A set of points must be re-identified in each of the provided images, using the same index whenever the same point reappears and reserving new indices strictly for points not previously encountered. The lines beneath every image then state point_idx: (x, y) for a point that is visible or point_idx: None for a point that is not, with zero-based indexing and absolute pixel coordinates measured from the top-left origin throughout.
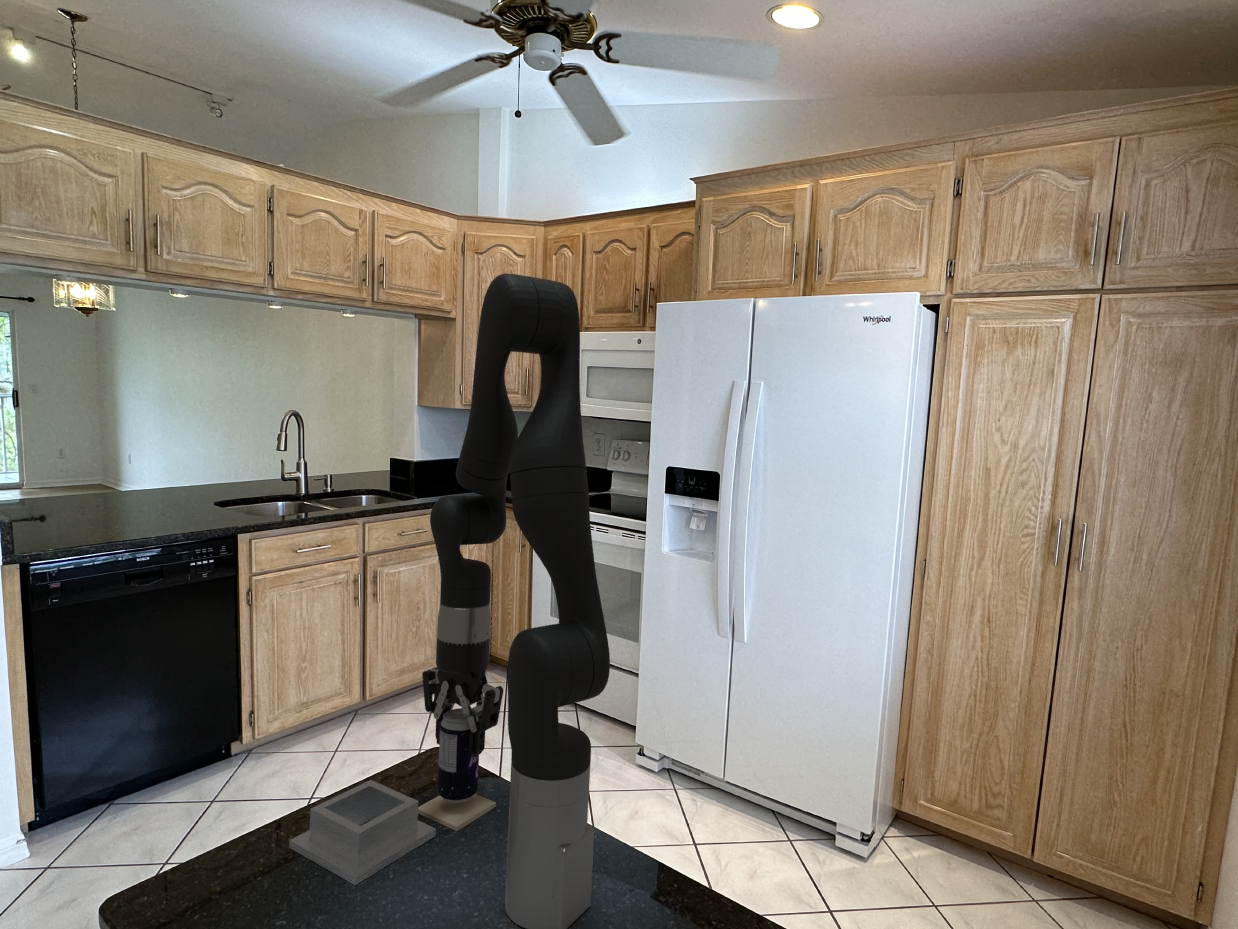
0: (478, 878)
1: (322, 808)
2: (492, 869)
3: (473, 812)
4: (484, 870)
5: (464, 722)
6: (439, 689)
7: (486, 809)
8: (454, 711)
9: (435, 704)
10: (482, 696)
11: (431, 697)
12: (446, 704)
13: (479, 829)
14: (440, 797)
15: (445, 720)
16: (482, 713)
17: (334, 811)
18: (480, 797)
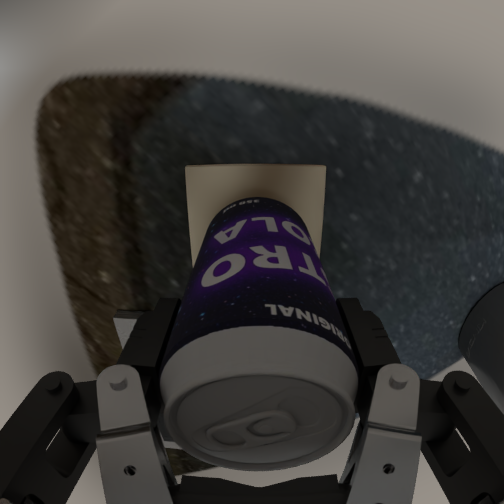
0: (413, 338)
1: (163, 442)
2: (423, 316)
3: (309, 231)
4: (413, 324)
5: (328, 448)
6: (36, 463)
7: (323, 200)
8: (186, 415)
9: (88, 436)
10: (408, 501)
11: (74, 472)
12: (174, 480)
13: (348, 253)
14: (197, 229)
15: (235, 462)
16: (443, 483)
17: (162, 419)
18: (276, 170)
